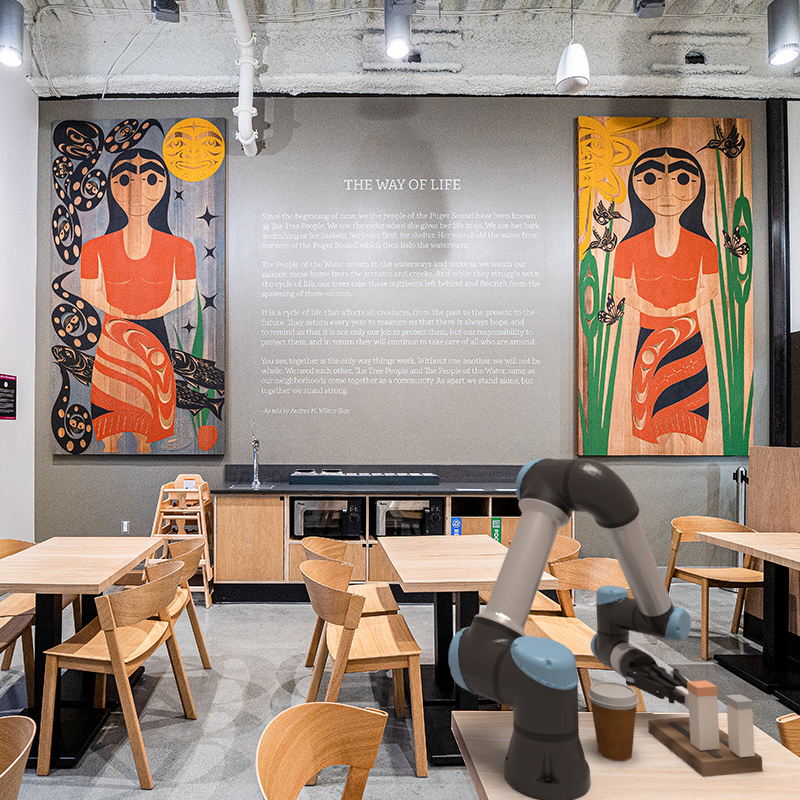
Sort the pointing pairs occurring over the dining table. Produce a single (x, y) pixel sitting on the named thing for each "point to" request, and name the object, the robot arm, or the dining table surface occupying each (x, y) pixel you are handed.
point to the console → (704, 761)
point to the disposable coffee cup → (614, 718)
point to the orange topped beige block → (703, 715)
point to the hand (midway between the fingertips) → (698, 706)
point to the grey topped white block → (740, 725)
